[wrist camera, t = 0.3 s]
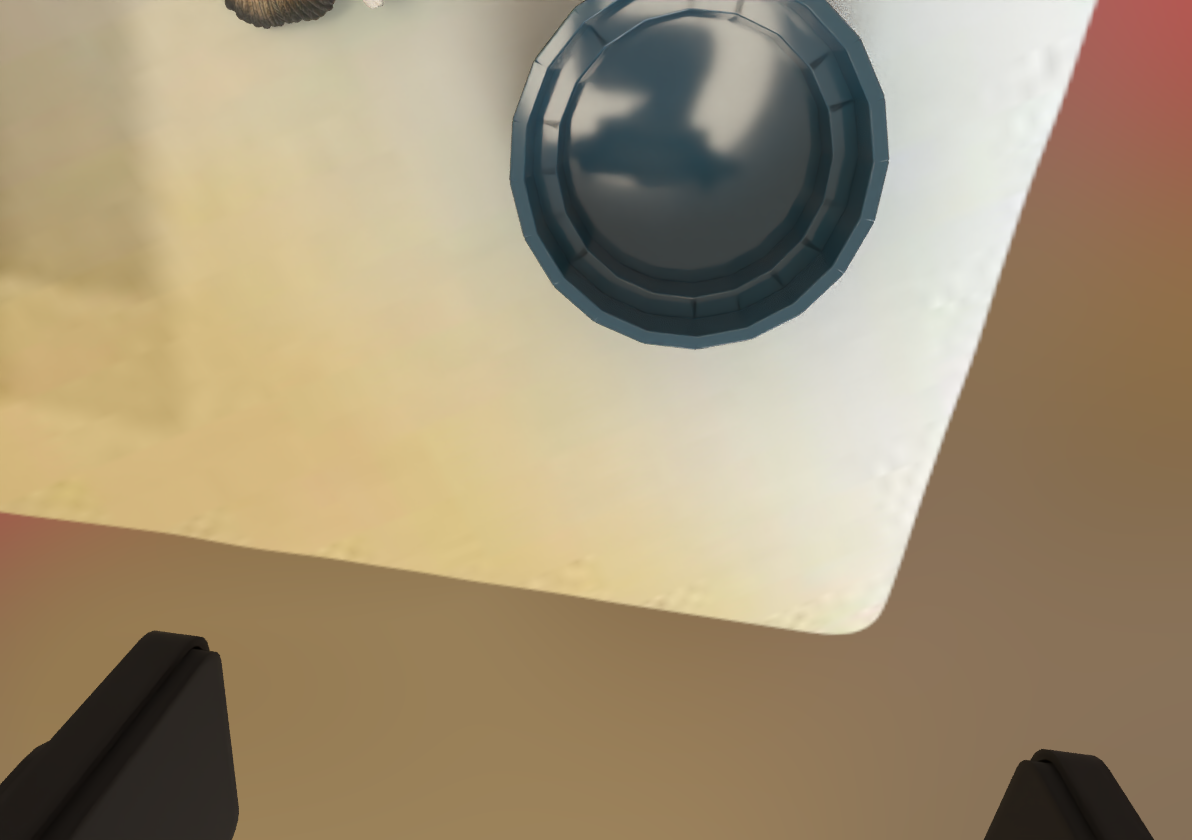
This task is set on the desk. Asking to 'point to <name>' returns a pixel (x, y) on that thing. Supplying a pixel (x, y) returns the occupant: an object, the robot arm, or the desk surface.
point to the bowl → (698, 163)
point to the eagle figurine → (283, 10)
